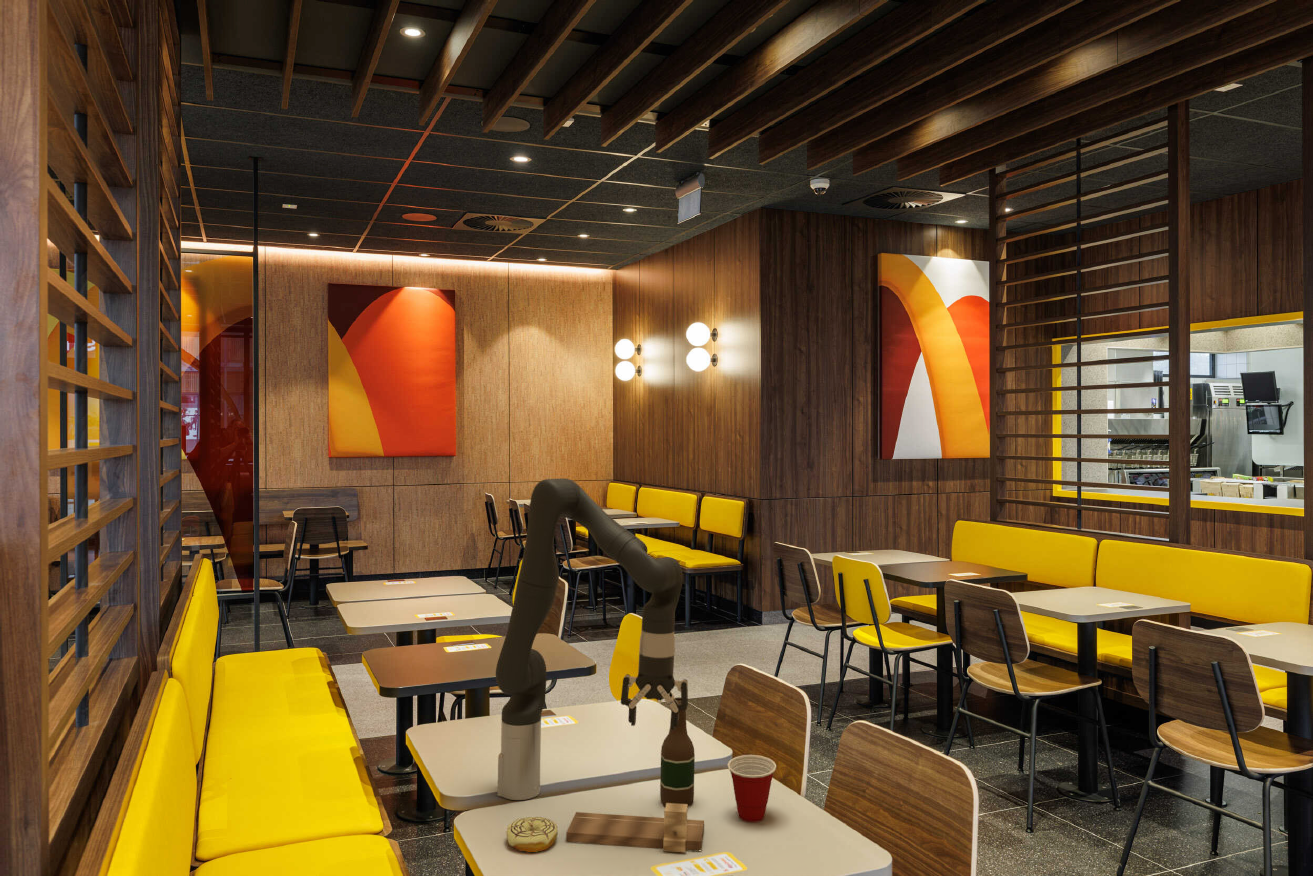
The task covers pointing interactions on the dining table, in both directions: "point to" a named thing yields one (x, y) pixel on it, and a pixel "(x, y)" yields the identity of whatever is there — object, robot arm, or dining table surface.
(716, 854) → the dining table surface
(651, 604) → the robot arm
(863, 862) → the dining table surface
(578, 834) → the board
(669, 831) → the block
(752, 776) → the plastic cup
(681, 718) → the beer bottle
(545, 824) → the decorated donut
